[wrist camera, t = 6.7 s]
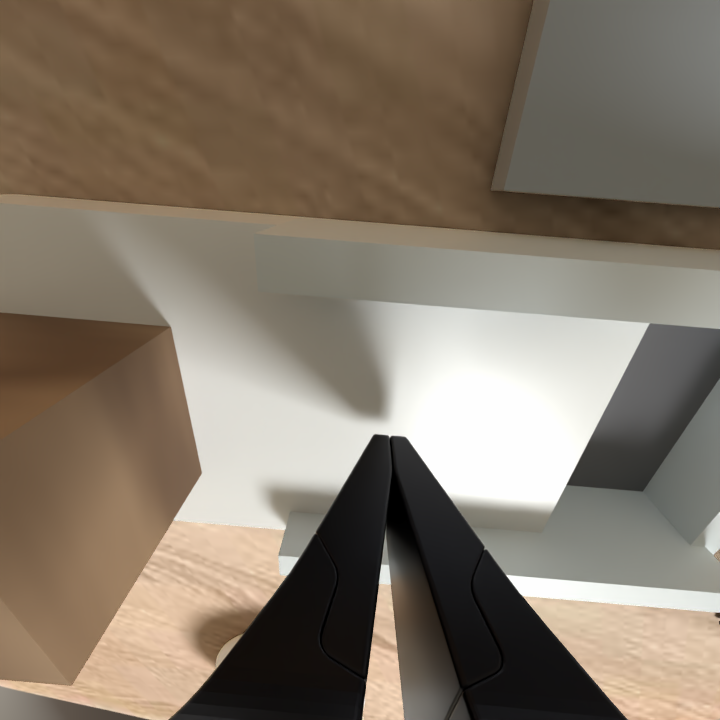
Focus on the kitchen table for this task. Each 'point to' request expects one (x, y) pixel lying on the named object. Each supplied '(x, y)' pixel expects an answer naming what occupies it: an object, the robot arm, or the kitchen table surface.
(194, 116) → the kitchen table surface
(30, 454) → the block
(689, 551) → the channel
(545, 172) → the pad
